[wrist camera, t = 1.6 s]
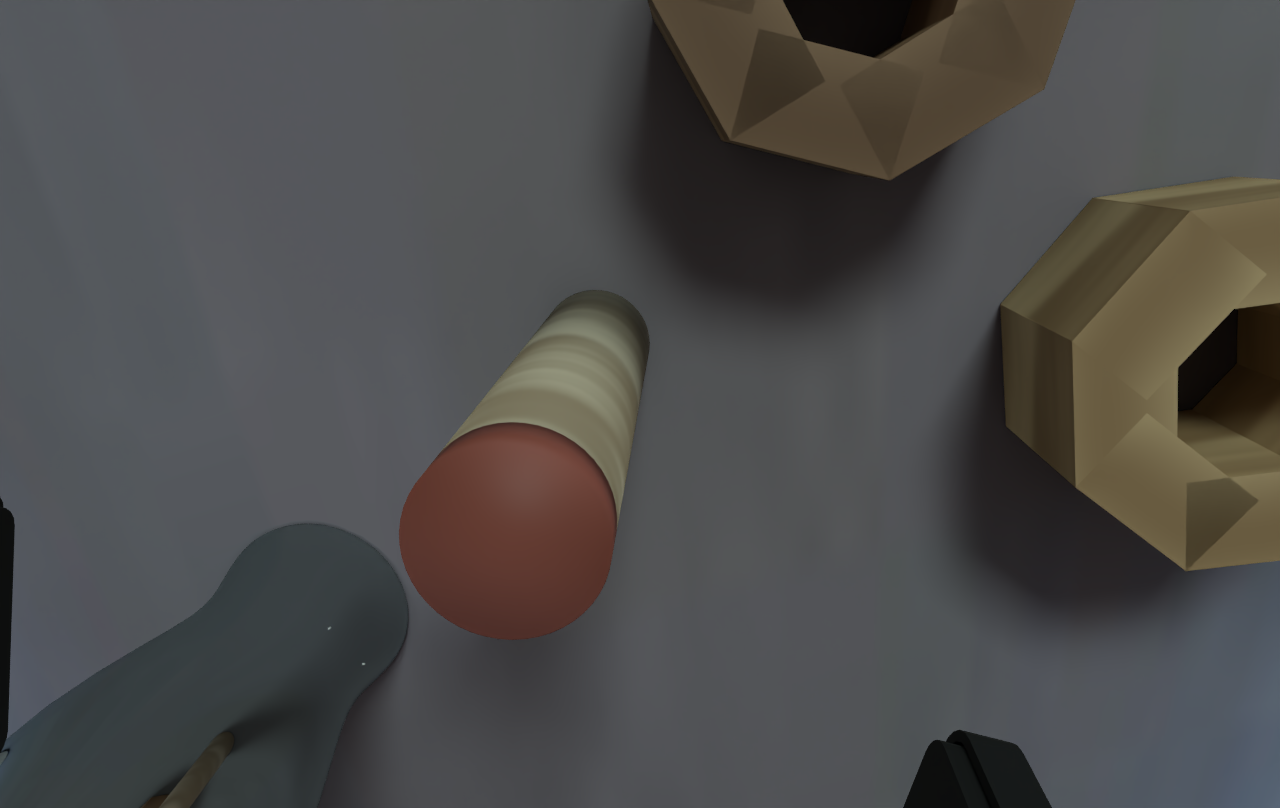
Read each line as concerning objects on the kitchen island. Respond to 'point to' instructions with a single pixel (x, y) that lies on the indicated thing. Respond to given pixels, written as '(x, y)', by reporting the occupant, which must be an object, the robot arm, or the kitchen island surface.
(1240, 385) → the oak bead
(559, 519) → the cream and red cylinder
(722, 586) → the kitchen island surface
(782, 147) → the walnut bead
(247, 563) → the beer glass
